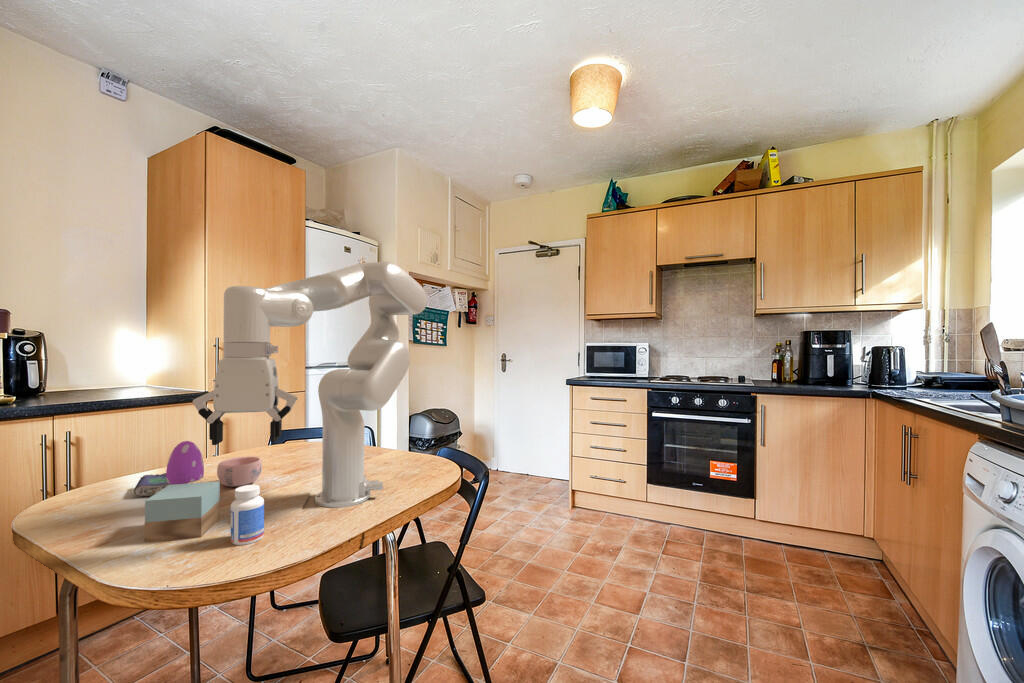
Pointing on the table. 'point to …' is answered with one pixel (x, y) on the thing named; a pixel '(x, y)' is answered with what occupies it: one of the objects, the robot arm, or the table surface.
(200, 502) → the tower top
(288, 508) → the table surface
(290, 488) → the table surface
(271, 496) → the table surface
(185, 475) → the toy
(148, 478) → the flask
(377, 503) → the table surface
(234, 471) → the pink bowl
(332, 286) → the robot arm
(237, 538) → the pill bottle
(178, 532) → the tower base
